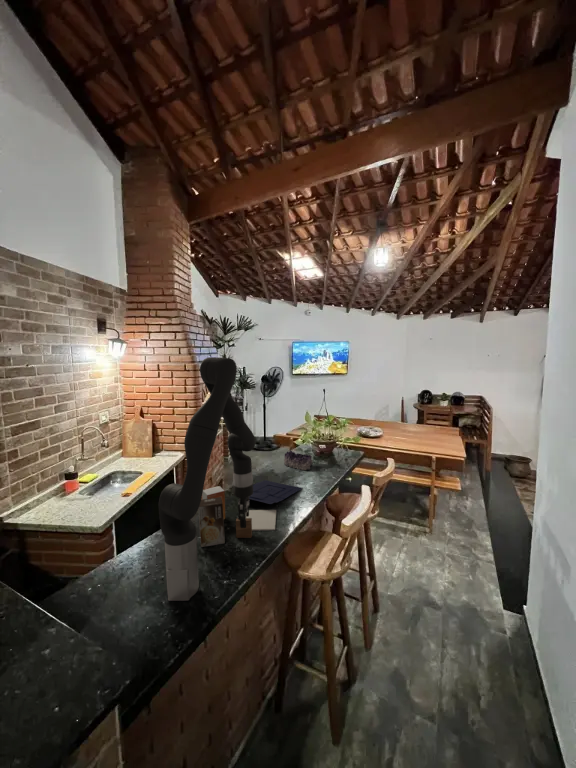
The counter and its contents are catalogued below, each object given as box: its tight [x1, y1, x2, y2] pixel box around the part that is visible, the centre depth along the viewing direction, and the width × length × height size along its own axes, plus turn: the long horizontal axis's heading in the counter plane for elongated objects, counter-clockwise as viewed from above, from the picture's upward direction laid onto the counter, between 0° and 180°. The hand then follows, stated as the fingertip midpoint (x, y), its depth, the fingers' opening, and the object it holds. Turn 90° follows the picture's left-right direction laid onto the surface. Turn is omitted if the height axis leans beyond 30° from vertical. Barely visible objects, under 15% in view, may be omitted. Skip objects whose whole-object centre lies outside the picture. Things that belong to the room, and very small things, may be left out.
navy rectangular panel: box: [249, 479, 303, 505], centre depth 167 cm, size 24×30×4 cm
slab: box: [235, 517, 253, 539], centre depth 130 cm, size 2×6×7 cm, turn 90°
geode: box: [283, 450, 313, 471], centre depth 207 cm, size 20×12×10 cm, turn 60°
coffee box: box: [198, 497, 226, 548], centre depth 126 cm, size 9×6×16 cm
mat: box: [246, 509, 277, 532], centre depth 142 cm, size 16×14×1 cm
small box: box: [202, 485, 226, 520], centre depth 144 cm, size 8×6×13 cm
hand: (244, 521), depth 130 cm, fingers open, 8 cm apart
